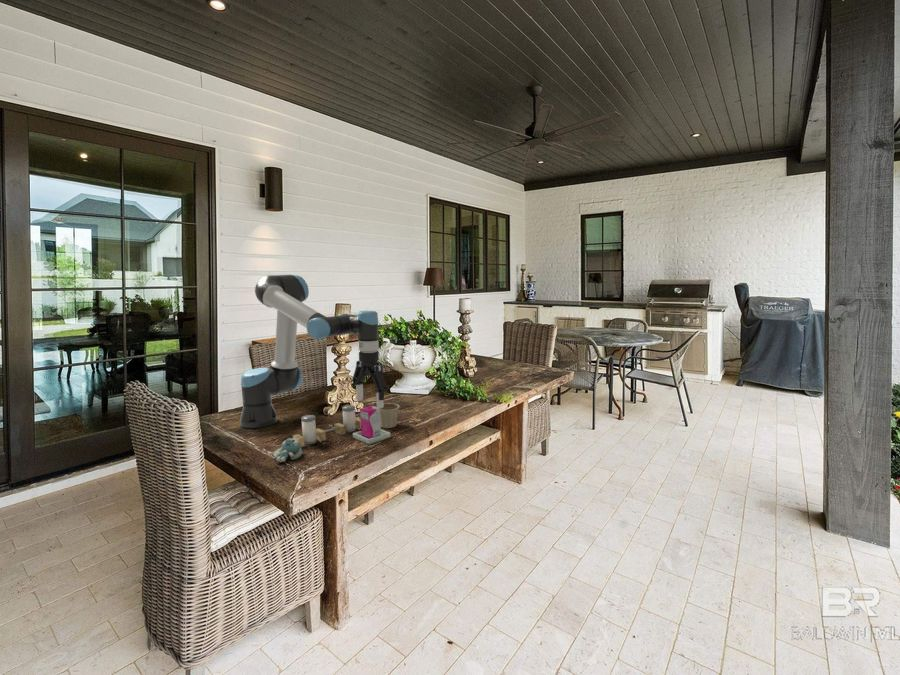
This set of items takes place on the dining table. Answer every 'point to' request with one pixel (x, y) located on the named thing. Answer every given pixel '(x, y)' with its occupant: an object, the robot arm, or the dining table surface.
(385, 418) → the flower pot
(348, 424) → the grey capped shaker
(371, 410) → the supplement box
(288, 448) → the stuffed animal
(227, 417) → the dining table surface
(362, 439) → the tray
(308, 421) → the cylinder
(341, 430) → the clip rail
